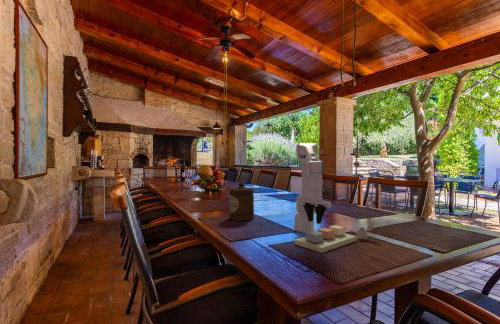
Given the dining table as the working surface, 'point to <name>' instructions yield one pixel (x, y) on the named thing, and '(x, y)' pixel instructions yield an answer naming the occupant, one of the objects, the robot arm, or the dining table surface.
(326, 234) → the key terracotta
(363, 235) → the lighter
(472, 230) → the dining table surface
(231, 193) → the wooden container
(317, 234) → the key slate
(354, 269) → the dining table surface
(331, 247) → the panel
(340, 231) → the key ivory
